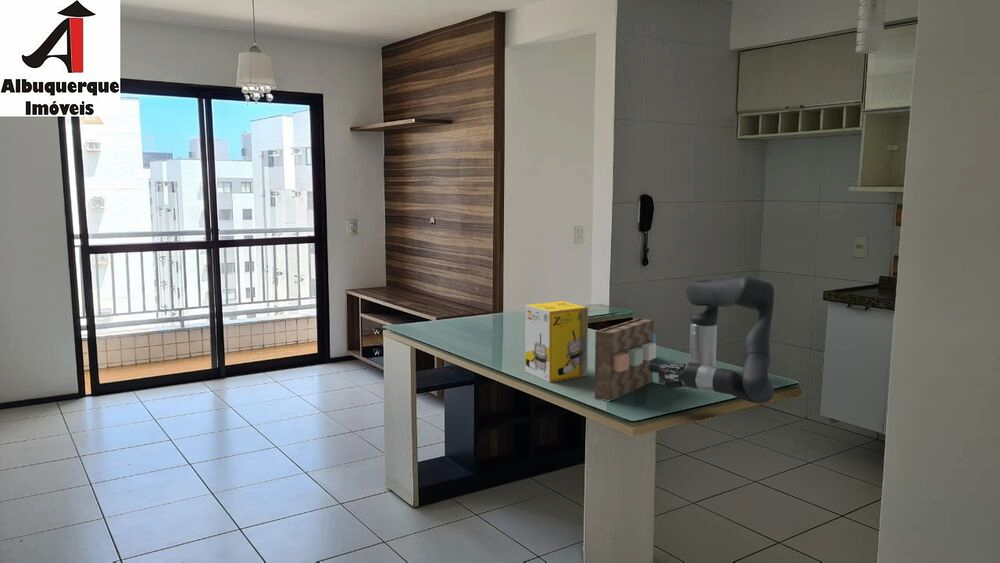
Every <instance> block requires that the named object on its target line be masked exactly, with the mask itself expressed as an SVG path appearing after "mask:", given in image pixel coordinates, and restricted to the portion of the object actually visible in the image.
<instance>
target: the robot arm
mask: <svg viewBox="0 0 1000 563" xmlns="http://www.w3.org/2000/svg"><path fill="white" fill-rule="evenodd" d="M685 293H686V294H685V295H686V298H687V300H688V302H689V303H690V304H691V305H693V306H696V307H697V306H699V307H701V306H705V308H703V309H702V310H701V311H699V312H696V313H693V314H692V315H691V317H690V334H689V335H690V336H689V337H690V338H689V339H690V342H689V362H688V363H667V364H662V365H661V364H657V363H656V364H655V363H653V364H650V365H649V371H650V372H652V373H656V374H658V378H659V377H661V378H663V379H664V380H666V381H669V378H671V379H674V380H676V381H680V380H682V381H683V383H684V385H683V386H685V387H687V388H689V389H695V390H699V391H704V392H705V391H706V392H715V393H721V394H725V395H731V396H734V397H736V398H738V399H741V400H743V401H746V402H749V403H751V404H759V405H760V404H766V403H769V402H770V401H772V399H773V398H774V395H775V390H774V387H773V384H772V383H771V381H770V380H769V373H768V370H769V368H770V365H771V351H770V349H771V348H770V337H771V336H770V335H771V326H772V320H773V312H774V311H773V310H774V301H775V290H774V285H773V284H772V283H771V282H768V281H766V280H762V279H758V278H754V277H750V276H741V277H737V278H735V279H730V278H729V279H728V278H727V279H726V278H725V279H724V278H722V279H715V280H714V279H702V280H701V279H698V280H697V279H696V280H693V281H690V282H689V284H688V285H687V287H686V292H685ZM735 305H737V306H739V307H743V308H745V309H750V310H754V311H757V314H758V318H757V320H756V323H755V324H754V325H753V327H752V328H751V329H750V330H749V332H748V333H747V335H746V336H745V338H744V342H743V357H744V358H743V360H744V364H743V370H742V375H741V374H739V373H738V372H737V371H735V370H732V369H729V368H728V369H727V368H722V367H716V364H717V363H716V362H717V361H716V360H717V334H718V333H717V330H718V329H717V327H718V325H717V324H718V319H719V308H727V307H729V308H730V307H733V306H735Z"/></svg>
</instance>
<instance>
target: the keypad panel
mask: <svg viewBox="0 0 1000 563" xmlns="http://www.w3.org/2000/svg"><path fill="white" fill-rule="evenodd" d="M654 324H655V323H654V319H651V318H650V319H649V318H642V317H638V318H635V319H631V320H629V321H625V322H622V323H618V324H614V325H612V326H608V327H606V328H602V329H598V330H595V338H594V339H595V340H594V343H595V344H594V346H595V347H594V349H595V350H594V351H595V352H594V353H595V355H594V356H595V357H594V358H595V359H594V364H595V365H594V399H596V398H599V399H598V400H601V399H605V400H611V399H614V398H616V397H618V396H620V397H622V396H621V395H623V394H625V393H627V394H629V393H631V392H633V391H632V390H634V391H636V390H637V389H640V388H642V387H644V386H646V385H649V384H650V383H653V372H650V371H649V365H650V364H654V363H653V361H654V359H652V360H649V361H647V360H643V363H642V364H640V365H637V366H631V365H629V369H627V370H625V371H622V372H618V371H613V354H615V353H618V352H623V353H628V349H629V348H632V347H637V348H642V344H643V343H646V342H650V343H653V333H654ZM635 389H636V390H635ZM630 391H631V392H630ZM628 392H629V393H628ZM625 395H626V394H625ZM623 396H624V395H623ZM618 398H619V397H618ZM616 399H617V398H616ZM605 400H604V401H605ZM614 400H615V399H614Z"/></svg>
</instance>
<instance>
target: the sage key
mask: <svg viewBox="0 0 1000 563" xmlns="http://www.w3.org/2000/svg"><path fill="white" fill-rule="evenodd" d="M628 353H629V365H631V366H637V365H640V364H642V363H643V348H637V347H632V348H629V349H628Z"/></svg>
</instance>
